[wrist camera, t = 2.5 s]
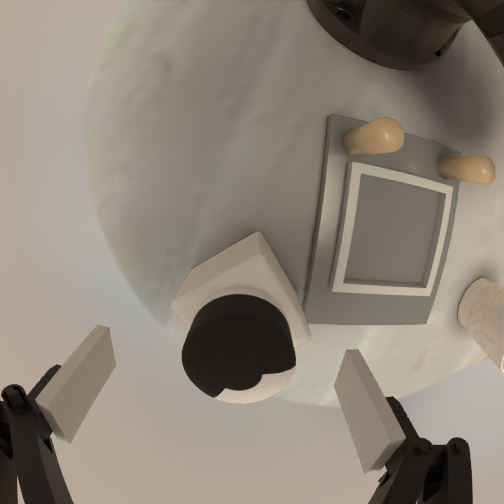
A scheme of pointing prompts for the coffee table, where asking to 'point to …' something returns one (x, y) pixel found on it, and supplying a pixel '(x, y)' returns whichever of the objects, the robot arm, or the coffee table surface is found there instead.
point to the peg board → (383, 223)
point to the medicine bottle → (240, 323)
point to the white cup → (485, 317)
